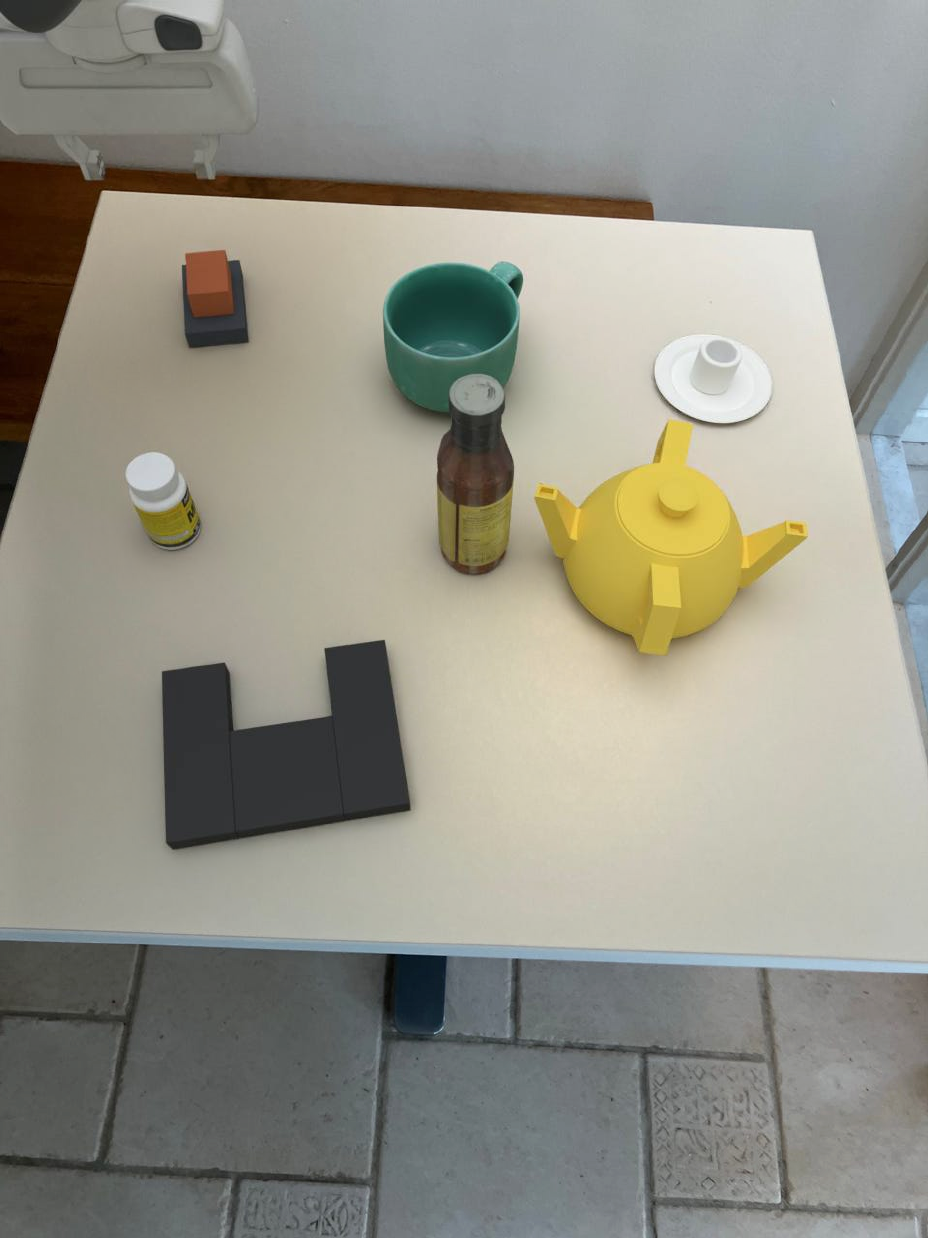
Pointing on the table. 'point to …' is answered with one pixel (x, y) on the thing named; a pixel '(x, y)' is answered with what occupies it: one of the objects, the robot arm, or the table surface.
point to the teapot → (659, 546)
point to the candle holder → (713, 378)
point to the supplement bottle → (162, 501)
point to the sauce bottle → (474, 477)
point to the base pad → (280, 755)
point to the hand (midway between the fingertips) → (151, 175)
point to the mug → (451, 328)
